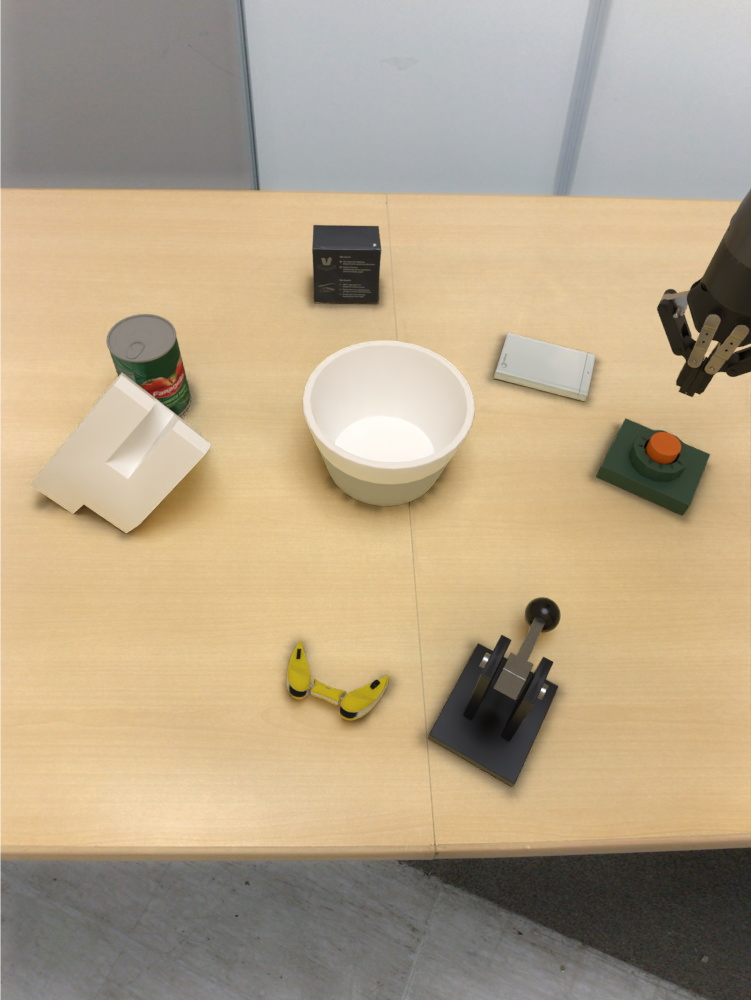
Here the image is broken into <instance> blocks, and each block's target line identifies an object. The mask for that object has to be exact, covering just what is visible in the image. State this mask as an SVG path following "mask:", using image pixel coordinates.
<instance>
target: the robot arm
mask: <svg viewBox="0 0 751 1000" xmlns="http://www.w3.org/2000/svg"><path fill="white" fill-rule="evenodd" d="M687 309H689V312H690V316H691V319H692V322H693V326H694V329H695V331H696V332H697V333H699V334H698V336H697V339H696V340H695V339H694V338H693V336H692V331H691V329H690V325H689V323H688V319H687V318H686V315H685V314H686V311H687ZM656 311H657V314H658V316H659V319H660V323H661V325H662V327H663V330H664V332H665V336H666V339H667V342H668V344H669V347H670V350H671V352H672V354H673V355H675V356H677V357H683V358H684V360H685V362H684V364H683V366H682V367H681V369H680V371H679V374H678V375H677V377H676V380H675V386H677V387H679V389H678V393H680V394H683V395H685V396H688V397H690V398H693V397H694V396H695V394H697V395H702V394H703V393H705V391H706V390H707V387H709V384H710V382H711V381H712V379H713V378H714V376H715V375H716V374H718V373H725V374H726V375H727V376H728V377H730V378H737V377H739V376H743V375H746V374H749V373H751V188H750V189H749V191H747V193H746V194H745V196H744V197H743V199H742V201H741V202H740V204H739V206H738V207H737V209H736V211H735V212H734V214H733V215H732V217H731V218H730V221H729V225H728V227H727V228H726V231H725V233H724V234H723V236H722V238H721V240H720V242H719V244H718V246H717V248H716V250H715V252H714V254H713V256H712V257H711V260H710V261H709V263H708V266H707V267H706V269H705V271H704V273H703V275H702V277H700V278H699V279H698V280H696V281H695V282H693V284H692V285H691V286H690V287H689V290H684V291H679V292H677V290H676V289H673V288H668V289H665V291H664V292H663V295H662V296H661V299H660V300H659V303H658V305H657V306H656ZM712 341H713V342H716V345H715V346H714V348H713V349H712V351H711V352H710V353H709V355H708V356H706V354H707V352H708V350H709V348H710V346H711V343H712ZM748 345H750V346H748ZM746 346H748V347H746ZM744 347H745V348H744ZM738 348H742V349H738ZM737 349H738V350H737Z"/></svg>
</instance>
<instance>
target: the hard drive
mask: <svg viewBox="0 0 751 1000" xmlns="http://www.w3.org/2000/svg"><path fill="white" fill-rule="evenodd" d="M596 357H597V355H596V354H595V353H591V352H587V351H583V350H580V349H575V348H572V347H568V346H564V345H560V344H556V343H553V342H549V341H544V340H540V339H536V338H532V337H529V336H525V335H520V334H517V333H513V332H509V331H508V332H507V333H506V336H505V339H504V343H503V346H502V349H501V352H500V355H499V358H498V362H497V365H496V367H495V372H494V375H493V378H494V379H496V380H499V381H503V382H508V383H511V384H515V385H519V386H524V387H528V388H531V389H535V390H539V391H541V392H542V391H543V392H546V393H550V394H554V395H559V396H563V397H565V398H570V399H574V400H578V401H581V402H586V400H587V399H588V396H589V390H590V385H591V381H592V376H593V371H594V365H595V361H596Z"/></svg>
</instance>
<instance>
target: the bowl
mask: <svg viewBox="0 0 751 1000" xmlns="http://www.w3.org/2000/svg"><path fill="white" fill-rule="evenodd" d="M301 402H302V412H303V416H304V419H305V421H306V424H307V427H308V429H309V431H310V434H311V435H312V438H313V440H314V443H315V445H316V447H317V448H318V451H319V453H320V455H321V458H322V460H323V462H324V464H325V466H326V469H327V471H328V473H329V476H330V478H331V480H332V481H333V482H334V484H335V485H336V487H338V488H339V489H340V490H341V491H342V492H343V493H345V494H346V495H348V497H351V498H352V499H353V500H357V501H359V502H361V503H364V504H368V505H372V506H378V507H379V506H380V507H393V506H400V505H403V504H404V505H405V504H408V503H411V502H412V501H415V500H417V499H419V498H421V497H423V496H424V494H426V493H427V492H428V491H429V490H430V489H431V488H432V487H433V486H434V485H435V483H436V482H437V480H438V479H439V477H440V476H441V474H443V472H444V470H445V469H446V467H447V465H448V464H449V463H450V461H451V460H452V458H453V457H454V456H455V455H456V453H457V452H458V450H459V449H460V447H461V445H462V444H463V443H464V441H465V440H466V439H467V436H468V435H469V432H470V431H471V429H472V427H473V422H474V419H475V415H476V410H475V408H476V407H475V406H476V405H475V399H474V395H473V392H472V388H471V387H470V385H469V383H468V381H467V379H466V378H465V376H464V375H463V373H462V372H460V370H459V369H458V368H457V366H456V365H454V364H453V363H452V362H450V361H449V360H448V359H446V358H445V357H444V356H442V355H440V354H438V353H437V352H435V351H433V350H431V349H429V348H426V347H423V346H422V345H418V344H415V343H410V342H406V341H400V340H387V339H382V340H369V341H363V342H359V343H354V344H351V345H348V346H346V347H344V348H340V349H339V350H337V351H335V352H334V353H331V354H330V355H328V356H327V357H326V358H324V359H323V361H321V362H320V363H319V364H317V366H316V367H315V369H314V370H313V371H312V372H311V374H310V375H309V376H308V378H307V381H306V384H305V385H304V388H303V393H302V401H301Z"/></svg>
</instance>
